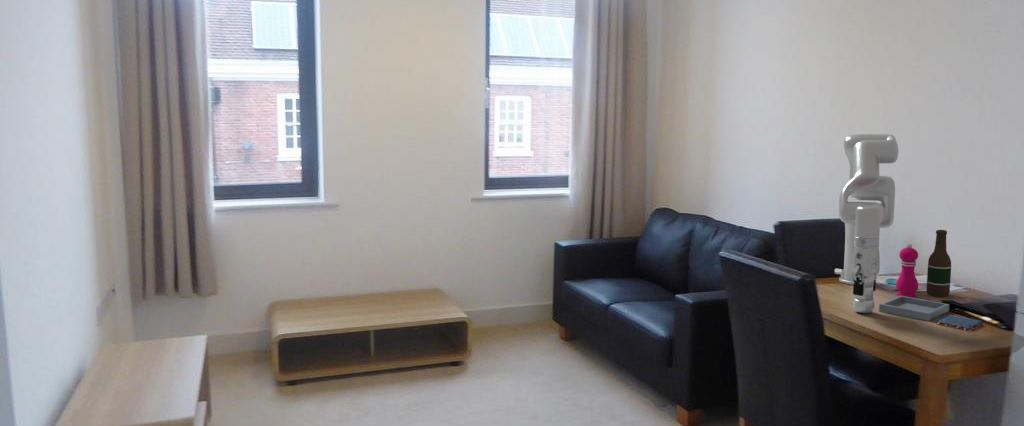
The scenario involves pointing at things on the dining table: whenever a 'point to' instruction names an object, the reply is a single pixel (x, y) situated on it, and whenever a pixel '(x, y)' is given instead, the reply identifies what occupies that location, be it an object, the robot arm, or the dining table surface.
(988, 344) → the dining table surface
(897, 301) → the tray
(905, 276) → the pepper mill
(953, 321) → the woven mat
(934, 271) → the beer bottle
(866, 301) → the plastic bottle
